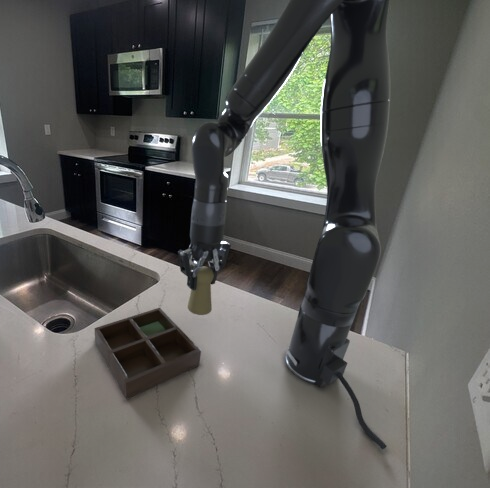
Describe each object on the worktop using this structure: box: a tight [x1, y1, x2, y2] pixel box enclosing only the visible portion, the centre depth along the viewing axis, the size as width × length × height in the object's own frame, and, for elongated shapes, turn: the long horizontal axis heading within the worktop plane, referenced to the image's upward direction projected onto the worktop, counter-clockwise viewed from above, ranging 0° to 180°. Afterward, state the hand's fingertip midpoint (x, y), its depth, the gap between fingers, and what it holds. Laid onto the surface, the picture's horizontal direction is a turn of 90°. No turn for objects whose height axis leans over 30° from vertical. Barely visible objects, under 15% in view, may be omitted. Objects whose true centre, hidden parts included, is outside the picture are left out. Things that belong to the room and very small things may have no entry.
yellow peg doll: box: [187, 265, 214, 316], centre depth 72 cm, size 6×6×11 cm
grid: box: [94, 307, 202, 400], centre depth 64 cm, size 17×17×4 cm
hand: (201, 285), depth 72 cm, fingers closed on yellow peg doll, 5 cm apart
